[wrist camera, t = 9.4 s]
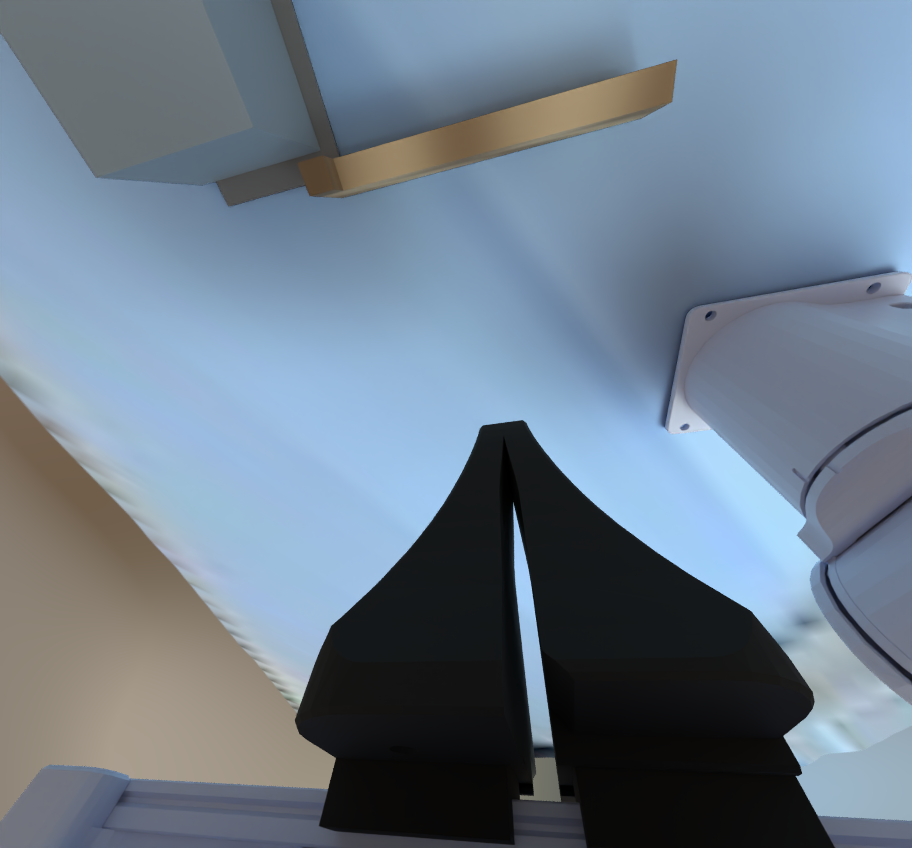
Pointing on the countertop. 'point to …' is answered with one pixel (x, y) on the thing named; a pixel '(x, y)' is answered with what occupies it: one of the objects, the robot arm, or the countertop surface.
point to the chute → (494, 134)
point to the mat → (288, 171)
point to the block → (164, 84)
